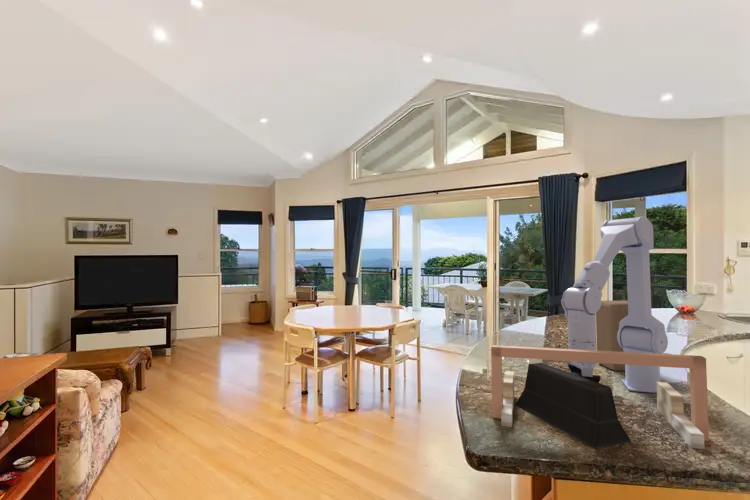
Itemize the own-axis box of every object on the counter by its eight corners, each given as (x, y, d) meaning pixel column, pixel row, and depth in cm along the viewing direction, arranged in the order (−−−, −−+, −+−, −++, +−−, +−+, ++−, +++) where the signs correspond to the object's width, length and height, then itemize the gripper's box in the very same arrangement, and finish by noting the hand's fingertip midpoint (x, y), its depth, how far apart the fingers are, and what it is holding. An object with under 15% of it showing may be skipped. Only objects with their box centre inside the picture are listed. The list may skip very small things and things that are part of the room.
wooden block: (647, 371, 123) (645, 303, 123) (613, 371, 123) (611, 303, 123) (627, 362, 133) (625, 300, 133) (596, 363, 133) (594, 300, 133)
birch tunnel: (506, 395, 103) (505, 370, 103) (668, 410, 91) (667, 382, 92) (501, 425, 84) (500, 396, 84) (704, 449, 73) (703, 414, 73)
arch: (493, 414, 91) (491, 345, 91) (704, 436, 78) (701, 355, 78) (492, 417, 89) (491, 346, 89) (709, 441, 76) (706, 358, 76)
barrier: (514, 406, 96) (513, 362, 97) (546, 402, 99) (545, 359, 99) (593, 450, 74) (592, 393, 74) (632, 443, 76) (630, 388, 76)
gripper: (560, 334, 103) (561, 389, 103) (565, 345, 90) (567, 409, 89) (592, 335, 101) (593, 391, 100) (602, 347, 87) (604, 412, 87)
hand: (583, 400), depth 95 cm, fingers open, 7 cm apart
